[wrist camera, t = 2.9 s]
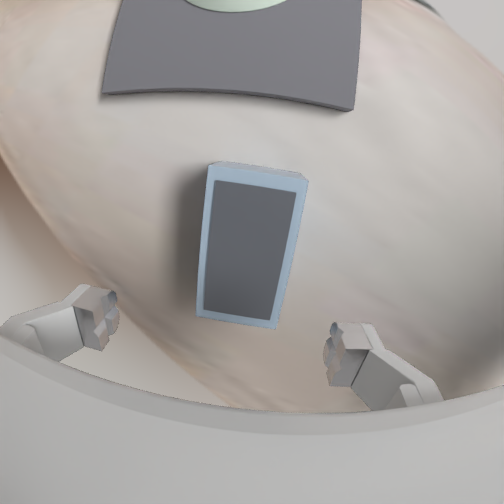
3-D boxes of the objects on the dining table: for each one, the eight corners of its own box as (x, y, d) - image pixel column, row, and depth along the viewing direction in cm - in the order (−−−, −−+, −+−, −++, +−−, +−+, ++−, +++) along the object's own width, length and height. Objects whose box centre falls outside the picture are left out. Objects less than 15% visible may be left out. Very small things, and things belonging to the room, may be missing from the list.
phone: (300, 173, 17) (309, 181, 13) (275, 296, 20) (276, 330, 16) (221, 160, 17) (208, 165, 13) (208, 285, 20) (194, 317, 16)
